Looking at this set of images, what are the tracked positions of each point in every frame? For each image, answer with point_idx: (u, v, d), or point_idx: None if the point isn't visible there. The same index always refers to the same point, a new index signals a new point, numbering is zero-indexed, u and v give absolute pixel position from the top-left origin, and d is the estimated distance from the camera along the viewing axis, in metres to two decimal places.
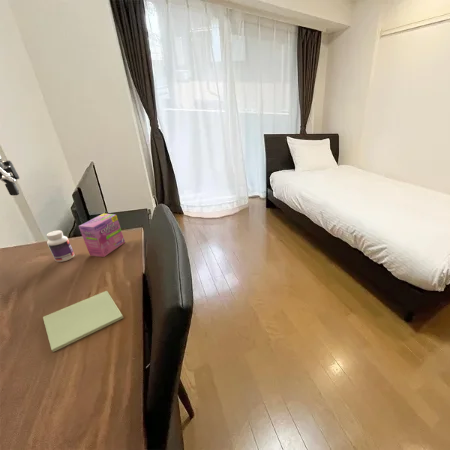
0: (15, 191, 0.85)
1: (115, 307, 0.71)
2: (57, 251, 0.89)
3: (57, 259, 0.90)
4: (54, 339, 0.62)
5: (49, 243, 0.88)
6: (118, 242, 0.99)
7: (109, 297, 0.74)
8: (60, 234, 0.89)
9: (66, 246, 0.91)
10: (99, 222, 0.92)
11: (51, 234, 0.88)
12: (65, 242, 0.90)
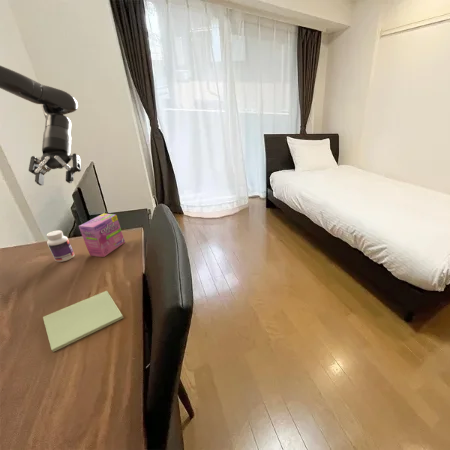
0: (43, 182, 0.93)
1: (115, 307, 0.71)
2: (57, 251, 0.89)
3: (57, 259, 0.90)
4: (54, 339, 0.62)
5: (49, 243, 0.88)
6: (118, 242, 0.99)
7: (109, 297, 0.74)
8: (60, 234, 0.89)
9: (66, 246, 0.91)
10: (99, 222, 0.92)
11: (51, 234, 0.88)
12: (65, 242, 0.90)
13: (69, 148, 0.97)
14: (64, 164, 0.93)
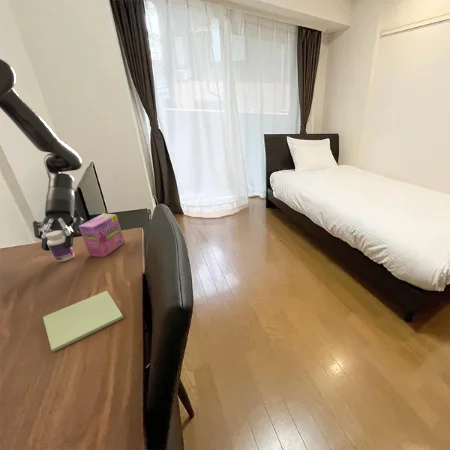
0: None
1: (115, 307, 0.71)
2: (57, 251, 0.89)
3: (57, 259, 0.90)
4: (54, 339, 0.62)
5: (49, 243, 0.88)
6: (118, 242, 0.99)
7: (109, 297, 0.74)
8: (60, 234, 0.89)
9: None
10: (99, 222, 0.92)
11: (51, 234, 0.88)
12: None
13: (73, 208, 0.95)
14: (65, 228, 0.91)
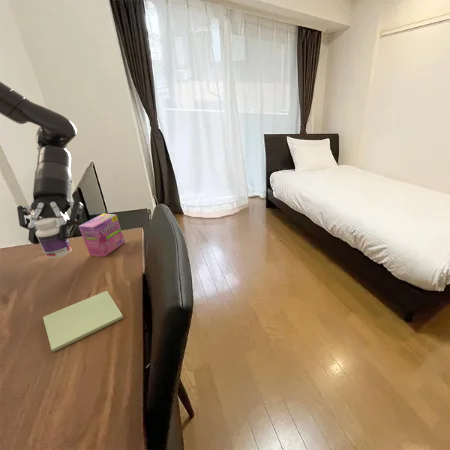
0: None
1: (115, 307, 0.71)
2: (50, 245, 0.69)
3: (49, 255, 0.70)
4: (54, 339, 0.62)
5: (38, 234, 0.68)
6: (118, 242, 0.99)
7: (109, 297, 0.74)
8: (53, 222, 0.69)
9: None
10: (99, 222, 0.92)
11: (41, 222, 0.68)
12: None
13: (69, 190, 0.75)
14: (59, 215, 0.70)
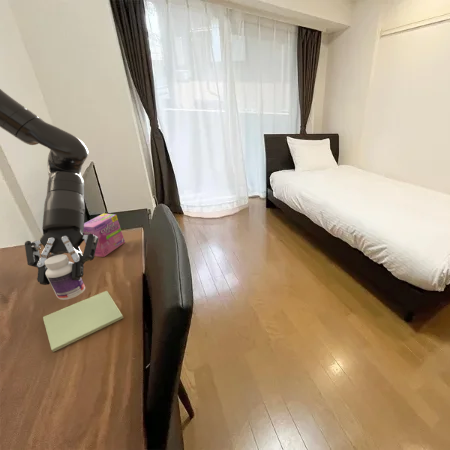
0: None
1: (115, 307, 0.71)
2: (61, 286, 0.61)
3: (60, 296, 0.62)
4: (54, 339, 0.62)
5: (49, 274, 0.60)
6: (118, 242, 0.99)
7: (109, 297, 0.74)
8: (65, 260, 0.61)
9: None
10: (99, 222, 0.92)
11: (52, 261, 0.60)
12: None
13: (82, 221, 0.67)
14: (72, 251, 0.62)
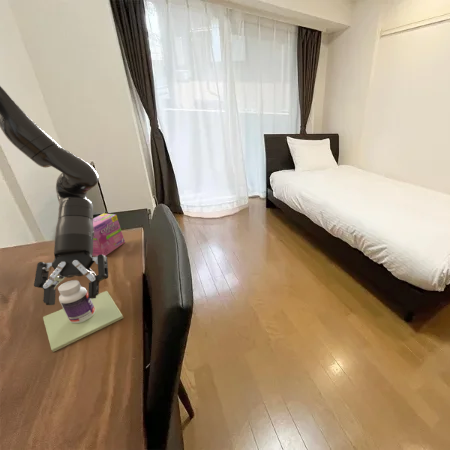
0: (54, 299, 0.65)
1: (115, 307, 0.71)
2: (73, 311, 0.64)
3: (72, 320, 0.65)
4: (54, 339, 0.62)
5: (62, 300, 0.63)
6: (118, 242, 0.99)
7: (109, 297, 0.74)
8: (77, 287, 0.64)
9: (85, 302, 0.66)
10: (99, 222, 0.92)
11: (65, 287, 0.63)
12: (84, 297, 0.65)
13: (92, 245, 0.70)
14: (86, 272, 0.66)
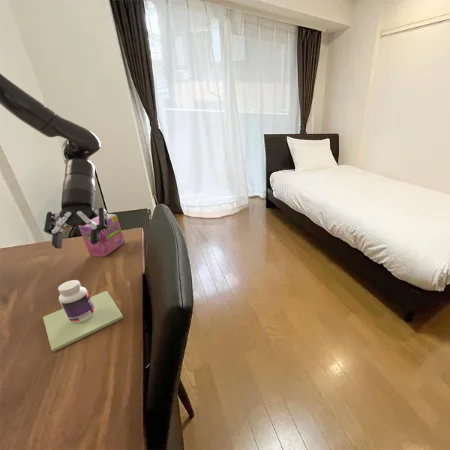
0: (61, 244, 0.75)
1: (115, 307, 0.71)
2: (73, 310, 0.64)
3: (72, 320, 0.65)
4: (54, 339, 0.62)
5: (62, 300, 0.63)
6: (118, 242, 0.99)
7: (109, 297, 0.74)
8: (77, 286, 0.64)
9: (85, 302, 0.66)
10: None
11: (65, 287, 0.63)
12: (84, 297, 0.65)
13: (93, 200, 0.80)
14: (89, 222, 0.76)
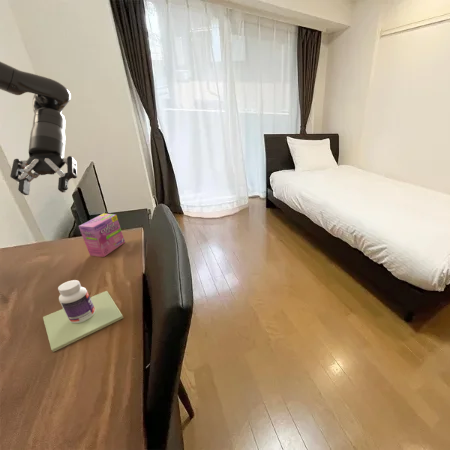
0: (28, 191, 0.74)
1: (115, 307, 0.71)
2: (73, 310, 0.64)
3: (72, 320, 0.65)
4: (54, 339, 0.62)
5: (62, 300, 0.63)
6: (118, 242, 0.99)
7: (109, 297, 0.74)
8: (77, 286, 0.64)
9: (85, 302, 0.66)
10: (99, 222, 0.92)
11: (65, 287, 0.63)
12: (84, 297, 0.65)
13: (63, 150, 0.79)
14: (56, 169, 0.75)
